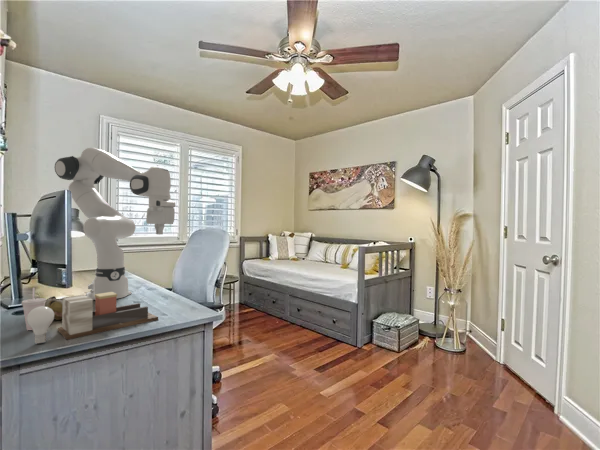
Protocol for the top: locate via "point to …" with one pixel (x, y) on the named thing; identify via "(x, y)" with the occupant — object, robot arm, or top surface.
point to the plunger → (105, 303)
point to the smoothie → (32, 306)
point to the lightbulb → (40, 322)
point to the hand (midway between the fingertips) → (159, 234)
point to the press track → (98, 317)
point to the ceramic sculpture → (55, 306)
